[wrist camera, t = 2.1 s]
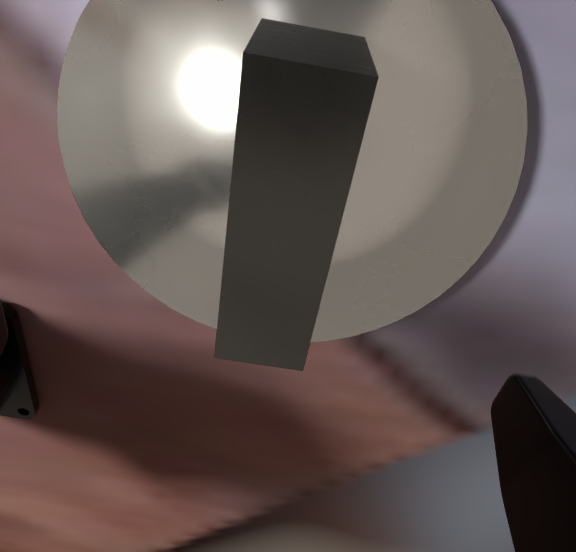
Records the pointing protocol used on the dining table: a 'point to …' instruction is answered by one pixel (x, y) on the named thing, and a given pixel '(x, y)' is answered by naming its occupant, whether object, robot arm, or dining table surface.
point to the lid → (292, 157)
